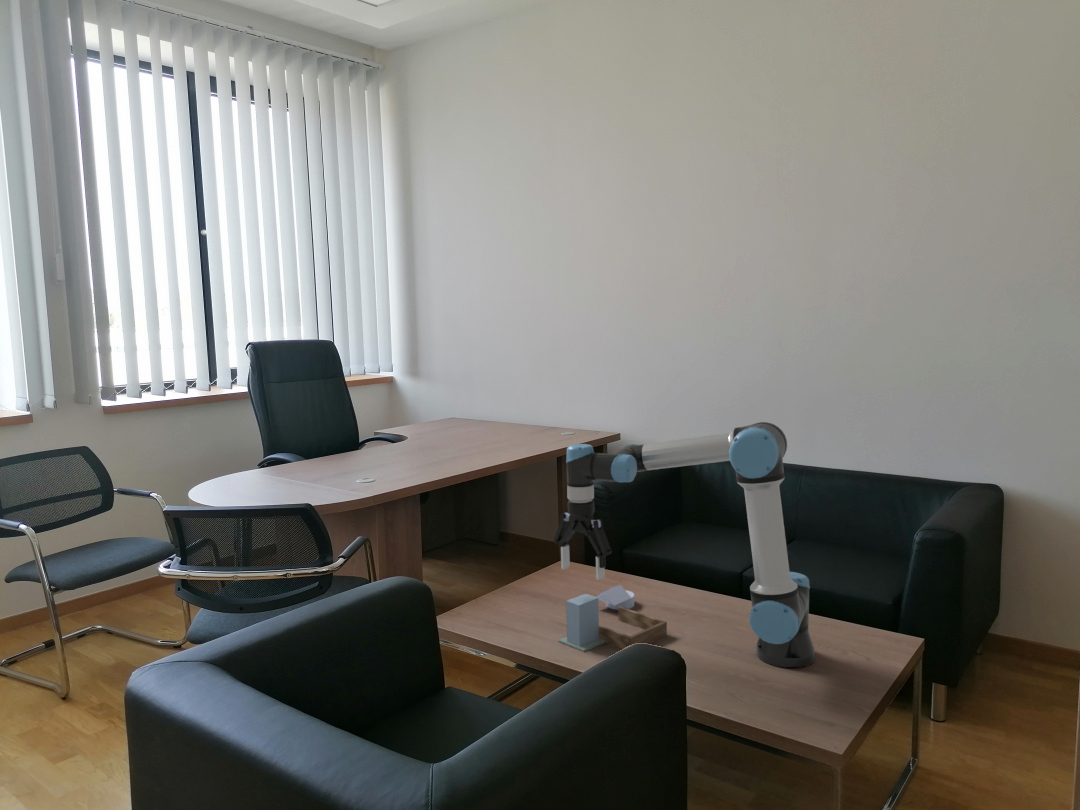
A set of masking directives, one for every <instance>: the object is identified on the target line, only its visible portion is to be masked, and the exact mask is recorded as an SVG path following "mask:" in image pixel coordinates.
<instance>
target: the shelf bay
mask: <svg viewBox="0 0 1080 810" xmlns="http://www.w3.org/2000/svg"><path fill="white" fill-rule="evenodd" d="M618 621H620V622H622V623H623V622H624V623H626V624H629V625H632V626H635V627H637V628H640V629H642V630H641V631H638V632H636V633H635V634H632V635H628V634H625V633H623V632H620V631H618V630H614V629H612V628H610V627H606V626H605V625H602V624H599V638H600V639H603V640H605V643H606V644H609V645H611V646H614V647H617V648H619V649H622V650H624V649H623V648H625V647H627V646H629V645H632V644H635V643H649V644H651V643H653V642H655V641H657V640H660V639H662V638H664V637H665V636H667V635H668V634H667V633H668V631H667V630H668V627H667V625H668V623H667V621H665V620H662V619H660V618H659V619H658V618H656V617H653V616H650V615H647V614H644V613H641V612H638V611H635V610H633V609H631V608H630V609H627V608H624V607H619V610H618Z"/></svg>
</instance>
